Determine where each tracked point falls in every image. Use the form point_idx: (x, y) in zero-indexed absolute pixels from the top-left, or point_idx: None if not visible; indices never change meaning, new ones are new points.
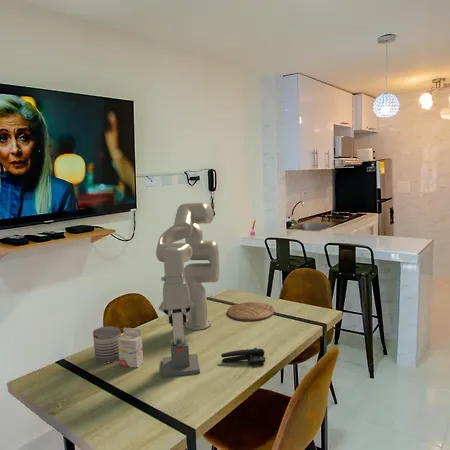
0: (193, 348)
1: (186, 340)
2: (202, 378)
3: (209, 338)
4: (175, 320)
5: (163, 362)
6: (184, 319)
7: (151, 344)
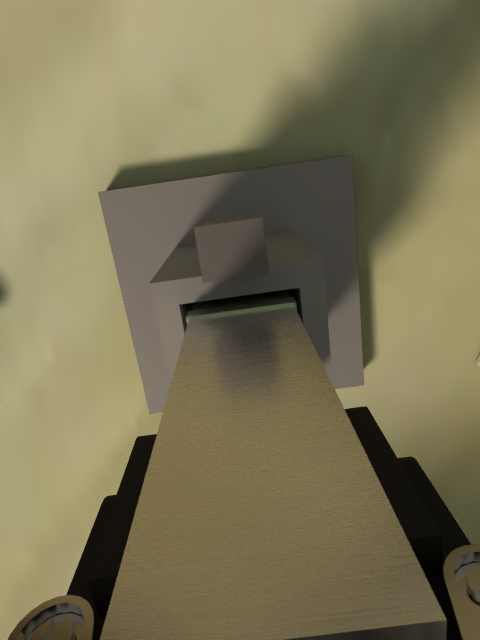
0: None
1: None
2: (78, 112)
3: None
4: (302, 464)
5: (355, 318)
6: (116, 502)
7: None
